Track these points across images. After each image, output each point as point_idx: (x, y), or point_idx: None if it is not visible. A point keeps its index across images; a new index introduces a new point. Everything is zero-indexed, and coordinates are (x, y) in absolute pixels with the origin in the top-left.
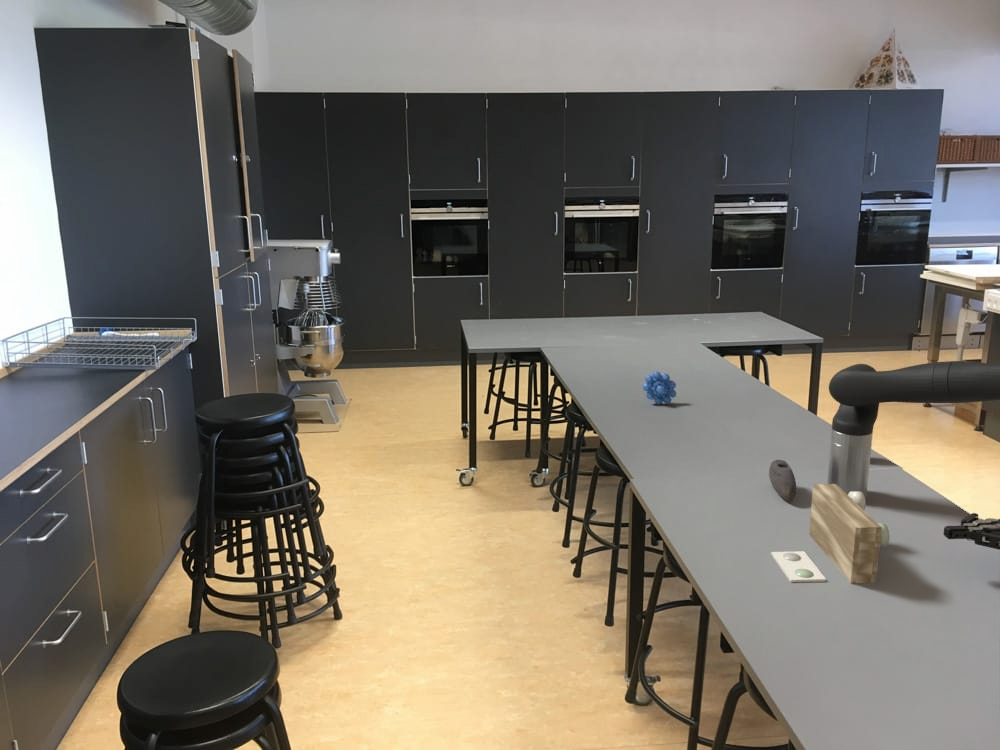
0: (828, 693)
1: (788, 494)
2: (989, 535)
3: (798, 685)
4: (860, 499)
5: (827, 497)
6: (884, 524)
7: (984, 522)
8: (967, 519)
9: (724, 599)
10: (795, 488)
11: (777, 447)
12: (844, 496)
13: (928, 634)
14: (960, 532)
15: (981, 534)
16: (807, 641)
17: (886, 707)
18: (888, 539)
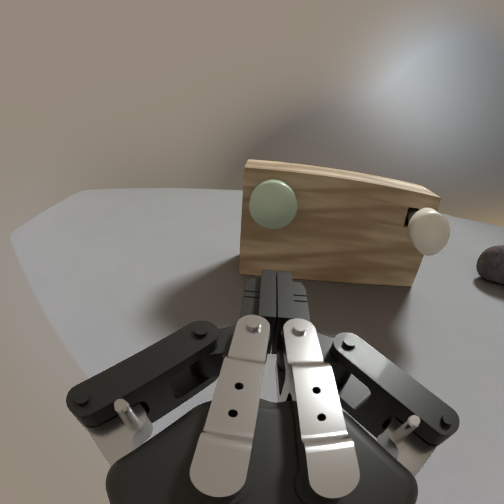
0: (97, 200)
1: (478, 259)
2: (152, 348)
3: (113, 194)
4: (418, 217)
5: (373, 175)
6: (273, 183)
7: (301, 402)
8: (370, 362)
9: (232, 192)
10: (491, 261)
11: None
12: (387, 184)
13: (96, 263)
14: (244, 297)
15: (180, 330)
16: (150, 204)
17: (65, 212)
18: (249, 205)
